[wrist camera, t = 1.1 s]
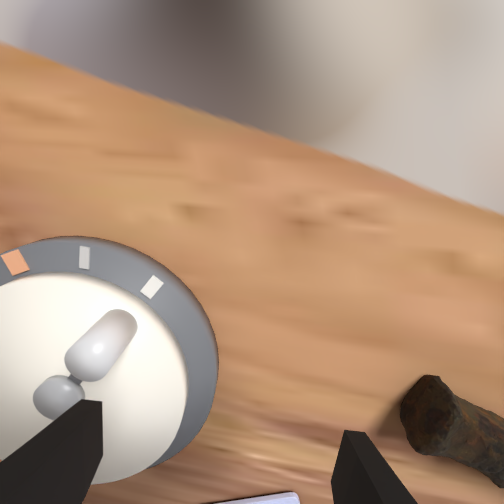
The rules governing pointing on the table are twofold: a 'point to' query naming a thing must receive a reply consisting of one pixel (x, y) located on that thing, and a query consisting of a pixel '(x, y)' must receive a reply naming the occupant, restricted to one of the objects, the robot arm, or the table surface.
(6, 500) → the robot arm
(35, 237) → the table surface
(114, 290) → the dial
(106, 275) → the dial base
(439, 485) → the table surface
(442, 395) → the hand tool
